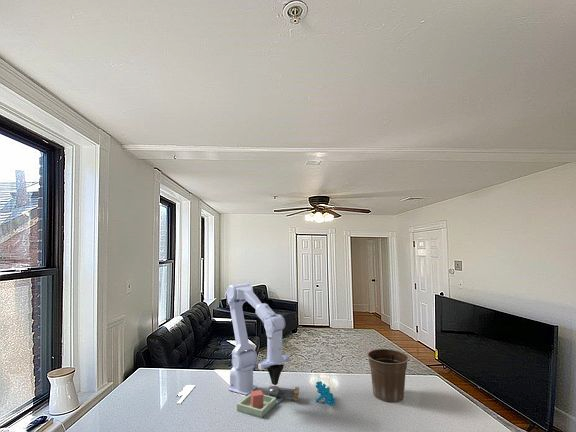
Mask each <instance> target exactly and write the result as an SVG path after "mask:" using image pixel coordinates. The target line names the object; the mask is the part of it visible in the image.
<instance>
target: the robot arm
mask: <svg viewBox="0 0 576 432" xmlns="http://www.w3.org/2000/svg"><path fill="white" fill-rule="evenodd" d="M253 287H254V286H252V285H251V284H250V283H249V282H244V283H239V284H238V283H237V284H230V285H228V287H227V289H226V292H225V293H226V298H227V305H229V310H230V311H229V312H230V317H231V321H232V322H231V323H232V327H233V333H234V339H235V345H236V346H235V347H234V348H233V350H232V351H231V357H232V358H231V364H232V368H230V369H231V370H230V373H229V388H228V391H231V392H235V393H238V394H242V395H244V396H245V395H246V396H248V395H249V394H250V393H251V391H255V390H256V389H257V388H258V386H257V385H254V368H255V366H256V364H257V363H258V354H257V352H256V349H255V345H253V344H251V343H250V342H249V338H248V332H247V327H246V320H245V317H244V311H243V309H244V308H243V305H244V303H246V302H247V303H248V304H249V305H251V307H252V308H254V309H255V315H256V316H257V317H258V319H260V320H261V322H262V323H263V326H264V329H265V335H266V337H267V338H266V339H267V340H266V341H267V342H266V343H267V348H266V349H267V350H266V351H267V353H266V354H267V355H266V356H267V358H266V359H265V360H263V361H261V362H259V363H258V364H257V369H258V370H260V371H263V370H264V369H266V370H267V372H268V374H269V377H270V381H271V384H272V385H273V386H277V385H278V384H279V380H280V376H281V374H282V372H283V370H284V368H285V367H284V362H290V361H291V355H290V354H283V330H284V329H285V327H286V320H285V317H284V316H283V314H278V313H275V311H274V310H273V309H272V308H271V307H270V306H269V304H268V303H265V302H264V303H262V301H261V300H260V299H259V298H258V296H257V295H256V294H255V293H254V288H253Z"/></svg>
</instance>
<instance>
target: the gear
mask: <svg viewBox="0 0 576 432" xmlns="http://www.w3.org/2000/svg"><path fill="white" fill-rule="evenodd" d="M315 388H316V392H317V393H318V394H320V395H319V396H318V397H317V398H315V402H316V403H318V402H319V401H320V400H321V399H324V401H323V402H324V403H325V404H328V405H329V406H330V407H332V406H334V405H335V401H336V400H335V397H334V394H333V393H332V392H331V388H330V386H328V385H327V384H326V383H323V382H322V381H321V380H318V381H317V382H316V383H315Z"/></svg>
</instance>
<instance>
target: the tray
mask: <svg viewBox="0 0 576 432" xmlns="http://www.w3.org/2000/svg"><path fill="white" fill-rule="evenodd" d="M267 395H268V394H267ZM267 395H266V394H263V408H261V409H257V408H254V407H251V392H250V393H249V394H248V395H246V396H245V397H244V398H242V400H240V401H239V402H238V403H236V411H237V412H240V413H243V414H246V415H250V416H253V417H256V418H260V419H262V418H264V417H265V416H266V415H267V414H268V413H269V412H270V411H271V410H272V409H273V408H275V406H277V404H276V398H275V397H271V396H267Z"/></svg>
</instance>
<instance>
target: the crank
mask: <svg viewBox="0 0 576 432" xmlns="http://www.w3.org/2000/svg"><path fill="white" fill-rule="evenodd" d="M268 394H269V396H271V397H275V398H276V399H279V398H283V399H293V401H295V402H298V401H299V398H300V387H299V386H294V388H287V387H279V386H277V385H273V386H272V385H271V386H269V387H268Z"/></svg>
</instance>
